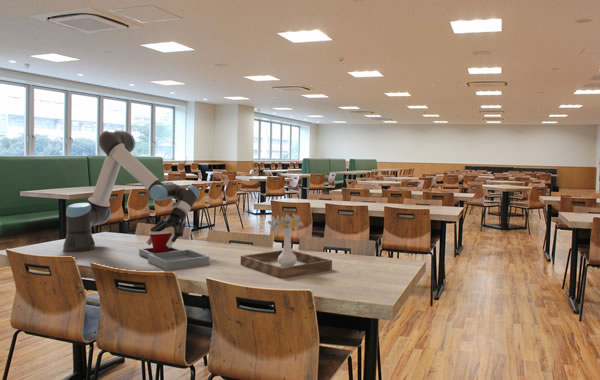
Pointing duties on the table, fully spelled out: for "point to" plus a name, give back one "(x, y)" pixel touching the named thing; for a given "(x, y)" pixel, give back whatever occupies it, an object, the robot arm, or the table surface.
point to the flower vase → (286, 237)
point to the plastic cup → (160, 240)
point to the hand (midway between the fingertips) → (157, 245)
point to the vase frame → (313, 266)
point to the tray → (178, 259)
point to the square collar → (146, 251)
